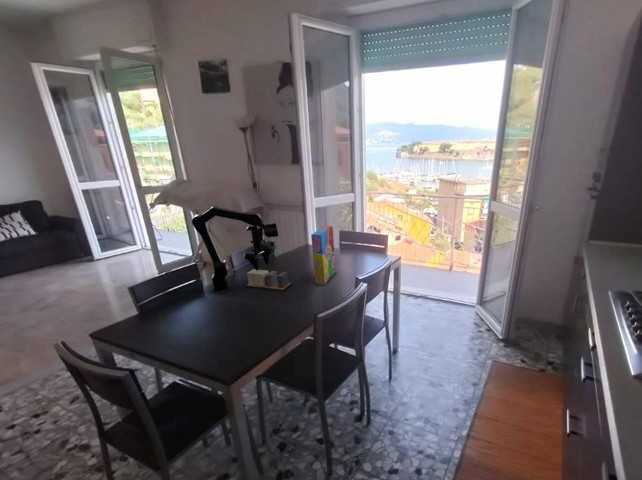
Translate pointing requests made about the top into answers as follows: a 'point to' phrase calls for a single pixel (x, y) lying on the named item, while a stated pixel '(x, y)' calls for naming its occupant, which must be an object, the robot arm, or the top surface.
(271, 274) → the grey book
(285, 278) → the grey book
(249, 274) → the cream book
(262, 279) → the cream book
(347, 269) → the top surface
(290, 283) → the book stand
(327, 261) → the game box
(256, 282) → the cream book
